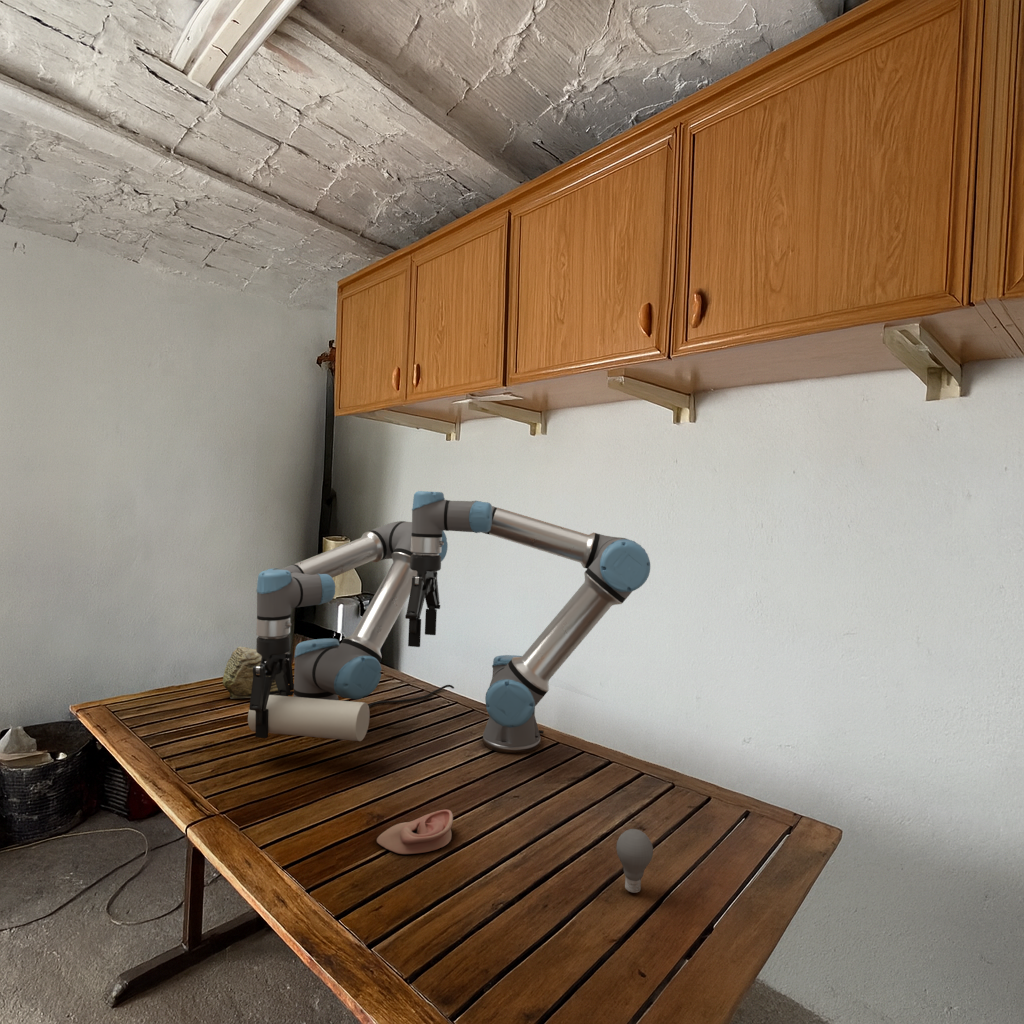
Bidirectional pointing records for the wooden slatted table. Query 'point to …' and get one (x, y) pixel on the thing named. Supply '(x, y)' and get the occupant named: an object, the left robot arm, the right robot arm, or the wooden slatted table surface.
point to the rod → (315, 717)
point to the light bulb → (634, 857)
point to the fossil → (243, 673)
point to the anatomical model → (419, 834)
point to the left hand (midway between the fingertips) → (272, 729)
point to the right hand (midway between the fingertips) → (422, 640)
